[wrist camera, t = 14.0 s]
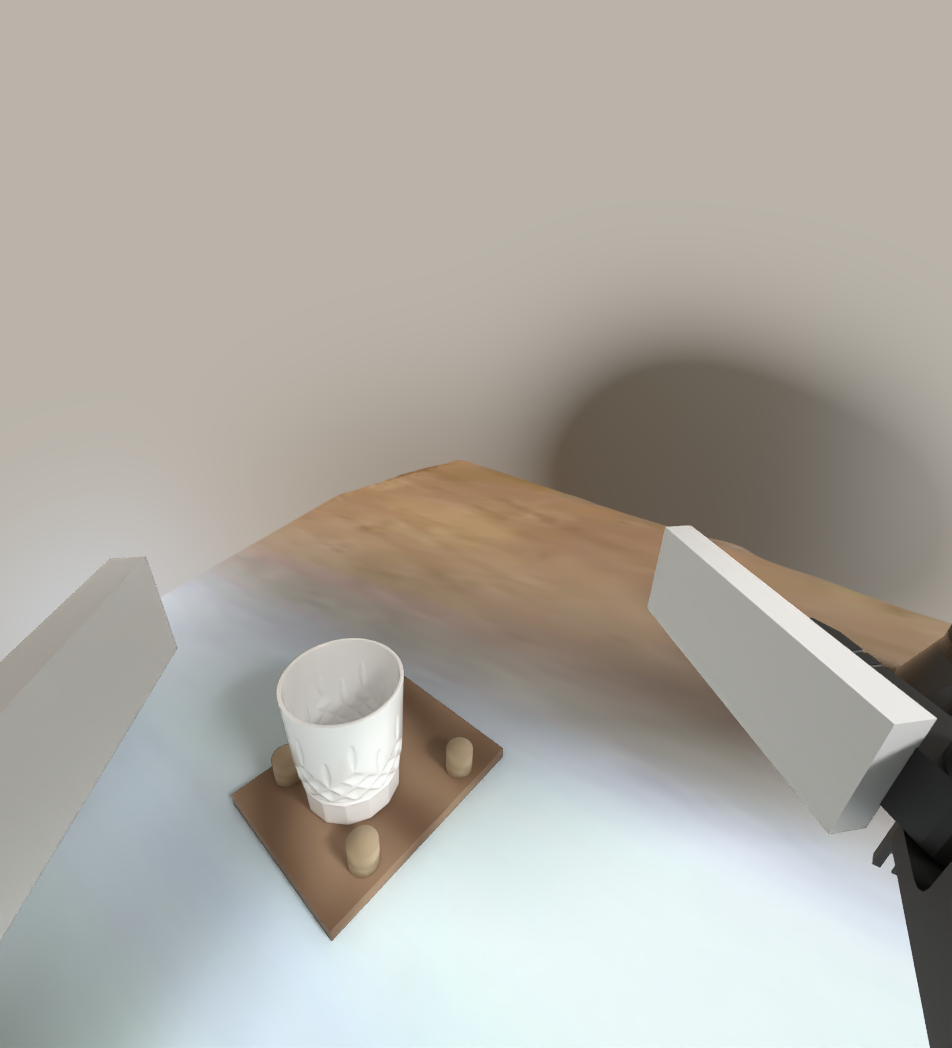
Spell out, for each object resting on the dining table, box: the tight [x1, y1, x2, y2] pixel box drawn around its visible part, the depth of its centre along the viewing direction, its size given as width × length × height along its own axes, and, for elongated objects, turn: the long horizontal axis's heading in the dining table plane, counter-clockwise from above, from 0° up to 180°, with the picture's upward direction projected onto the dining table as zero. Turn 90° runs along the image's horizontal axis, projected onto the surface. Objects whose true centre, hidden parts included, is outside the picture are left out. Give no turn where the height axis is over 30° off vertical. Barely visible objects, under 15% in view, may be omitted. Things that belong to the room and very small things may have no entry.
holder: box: [232, 676, 503, 941], centre depth 35 cm, size 16×12×3 cm
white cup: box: [276, 638, 404, 825], centre depth 32 cm, size 8×8×10 cm
